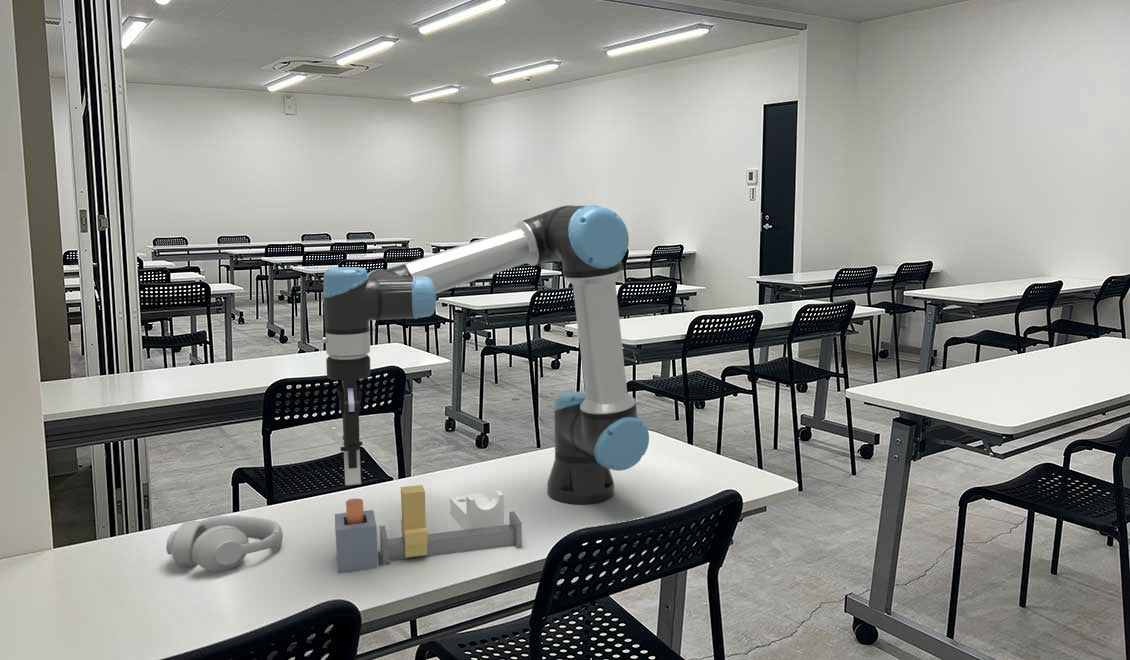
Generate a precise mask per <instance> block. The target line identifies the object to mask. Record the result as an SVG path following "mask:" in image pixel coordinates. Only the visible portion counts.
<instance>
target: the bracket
mask: <svg viewBox="0 0 1130 660" xmlns="http://www.w3.org/2000/svg"><path fill="white" fill-rule="evenodd" d="M449 505H450V506H449V507H450V514H451V515H452V516H453V518H454V519H455V520H456V521H457V522H458V523H459V524H460V525H461V526H462V527H463V528H464V530H466V529H475V528H483V527H492V526H500V525H505V494H504V493H503V492H502V491H500V490H495V491H494V495H493V498H491V500H490V499H489V498H488V497H487V496H486V495H484V494H483V493H482V492H480V493H473V494H469V495H461V496H456V497H449Z"/></svg>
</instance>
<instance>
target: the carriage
mask: <svg viewBox="0 0 1130 660" xmlns="http://www.w3.org/2000/svg"><path fill="white" fill-rule="evenodd" d="M400 501H401V503H400V504H401V509H400V510H401V519H400V527H401V528H400V529H401V530H400V531H401V537H403V539H404V542H405V557H413V556H421V555H427V543H428V542H427V534H428V529H427V524H426V523H427V520H426V519H427V517H426V515H427V513H426V491H425V488H424V486H423V484H419V485H409V486H401V487H400Z"/></svg>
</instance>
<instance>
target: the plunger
mask: <svg viewBox="0 0 1130 660" xmlns="http://www.w3.org/2000/svg"><path fill="white" fill-rule="evenodd" d="M345 506H346V508H345V509H346V512H345V513H346V514H347V525H351V524H360V523H364V514H363V511H364V500H363V499H361V498H350V499H347V500H346V502H345Z"/></svg>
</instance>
